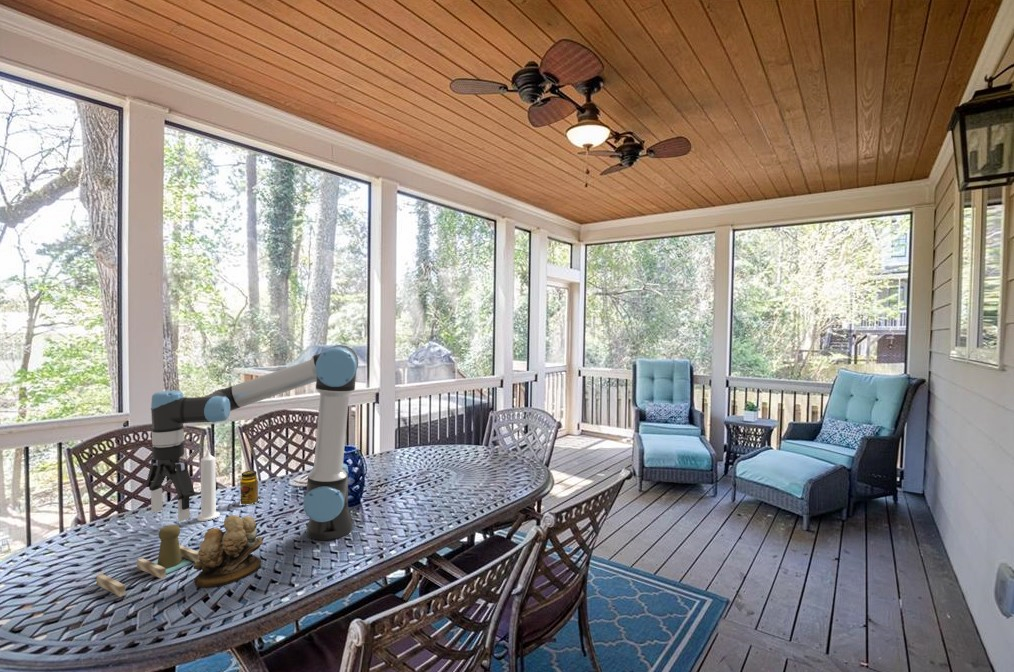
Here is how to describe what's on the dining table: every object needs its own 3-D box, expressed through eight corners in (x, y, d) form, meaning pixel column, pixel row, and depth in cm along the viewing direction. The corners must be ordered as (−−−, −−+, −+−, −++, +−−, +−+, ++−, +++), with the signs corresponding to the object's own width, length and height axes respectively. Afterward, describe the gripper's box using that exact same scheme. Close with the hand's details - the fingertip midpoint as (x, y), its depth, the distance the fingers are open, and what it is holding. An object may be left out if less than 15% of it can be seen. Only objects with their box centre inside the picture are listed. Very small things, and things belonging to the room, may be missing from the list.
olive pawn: (155, 570, 135) (154, 533, 135) (159, 560, 141) (158, 524, 140) (180, 566, 138) (180, 529, 138) (183, 556, 144) (183, 521, 143)
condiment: (238, 506, 183) (238, 475, 182) (240, 498, 191) (240, 469, 190) (259, 503, 186) (259, 473, 185) (261, 496, 193) (261, 467, 193)
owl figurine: (253, 554, 146) (254, 500, 146) (271, 568, 139) (272, 510, 138) (186, 579, 132) (187, 518, 131) (203, 595, 125) (203, 531, 124)
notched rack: (231, 547, 150) (231, 539, 150) (120, 596, 123) (120, 587, 123) (208, 539, 156) (208, 531, 156) (96, 584, 128) (96, 575, 128)
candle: (192, 518, 171) (192, 450, 170) (212, 511, 177) (212, 446, 176) (204, 522, 168) (203, 453, 167) (224, 515, 174) (223, 448, 173)
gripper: (207, 446, 136) (209, 518, 137) (158, 436, 147) (160, 503, 148) (179, 452, 129) (181, 528, 130) (130, 442, 140) (132, 512, 141)
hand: (170, 515), depth 139 cm, fingers open, 13 cm apart
